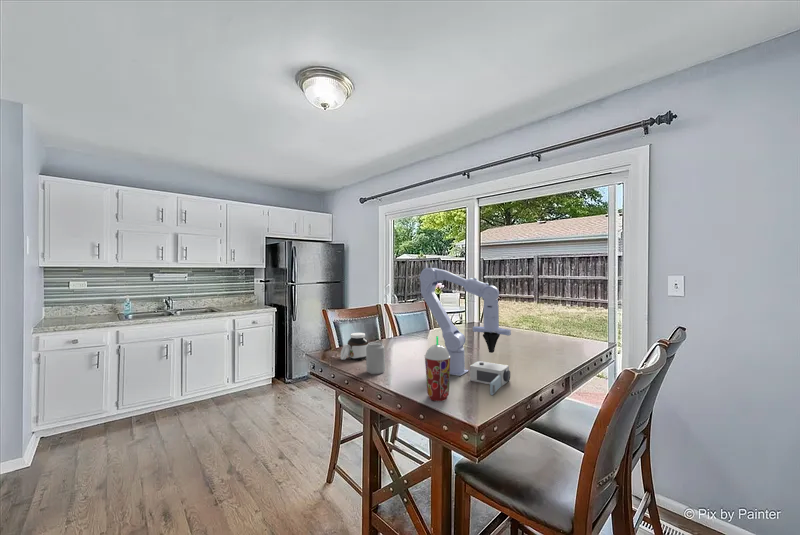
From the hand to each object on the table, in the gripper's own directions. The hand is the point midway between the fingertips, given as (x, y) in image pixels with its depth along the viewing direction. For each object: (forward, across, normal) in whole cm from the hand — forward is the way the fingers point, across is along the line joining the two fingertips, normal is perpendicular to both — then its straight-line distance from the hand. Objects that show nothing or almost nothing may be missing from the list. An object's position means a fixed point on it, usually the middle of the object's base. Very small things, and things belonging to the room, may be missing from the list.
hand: (491, 352), depth 132 cm
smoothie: (+10, -6, -31) cm, 33 cm away
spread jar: (+10, -63, -11) cm, 65 cm away
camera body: (+9, +1, -5) cm, 11 cm away
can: (+10, -41, -21) cm, 47 cm away
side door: (+9, +7, -15) cm, 19 cm away
